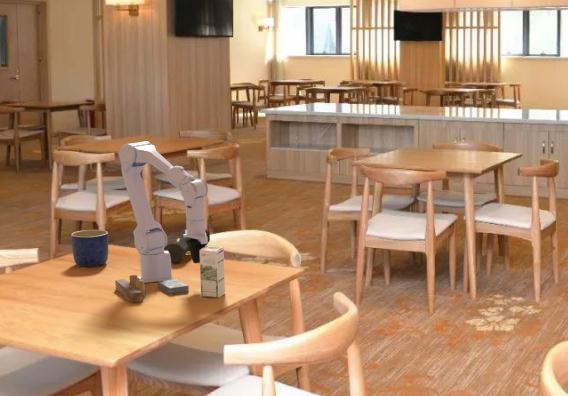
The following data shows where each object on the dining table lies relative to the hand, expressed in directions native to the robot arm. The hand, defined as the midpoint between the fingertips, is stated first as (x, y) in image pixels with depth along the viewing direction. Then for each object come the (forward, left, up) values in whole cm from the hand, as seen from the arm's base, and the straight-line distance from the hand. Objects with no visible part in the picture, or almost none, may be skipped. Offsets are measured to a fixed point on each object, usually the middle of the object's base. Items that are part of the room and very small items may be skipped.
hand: (197, 262), depth 310 cm
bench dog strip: (+21, 0, -8) cm, 22 cm away
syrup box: (0, +12, -8) cm, 14 cm away
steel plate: (+8, 0, -8) cm, 11 cm away
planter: (+22, -47, -8) cm, 52 cm away
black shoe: (-12, -44, -8) cm, 46 cm away
